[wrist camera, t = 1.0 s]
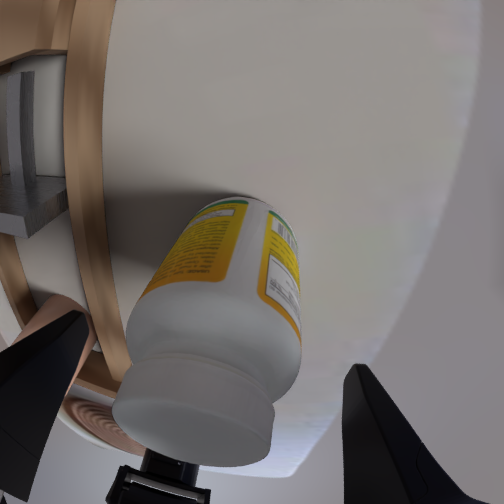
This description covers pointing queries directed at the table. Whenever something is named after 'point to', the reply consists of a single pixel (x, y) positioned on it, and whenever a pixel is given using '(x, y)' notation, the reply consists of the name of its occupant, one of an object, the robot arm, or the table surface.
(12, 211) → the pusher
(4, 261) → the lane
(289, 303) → the supplement bottle
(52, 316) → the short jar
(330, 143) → the table surface
